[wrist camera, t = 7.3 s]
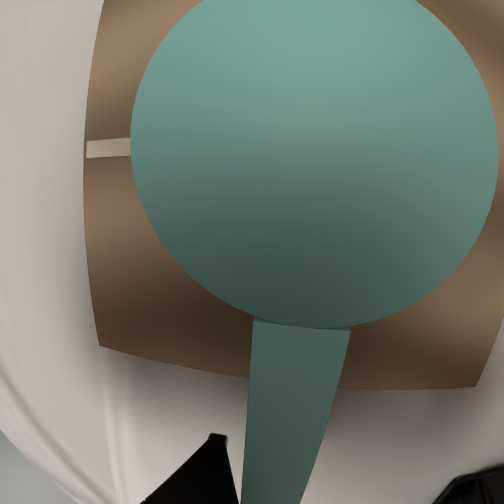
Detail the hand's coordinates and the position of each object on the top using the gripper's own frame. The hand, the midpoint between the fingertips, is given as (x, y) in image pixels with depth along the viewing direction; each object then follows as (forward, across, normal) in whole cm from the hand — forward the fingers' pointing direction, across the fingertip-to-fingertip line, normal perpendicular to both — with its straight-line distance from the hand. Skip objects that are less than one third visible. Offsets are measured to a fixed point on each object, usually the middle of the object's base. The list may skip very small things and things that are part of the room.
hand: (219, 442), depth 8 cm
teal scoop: (+3, -2, -4) cm, 5 cm away
